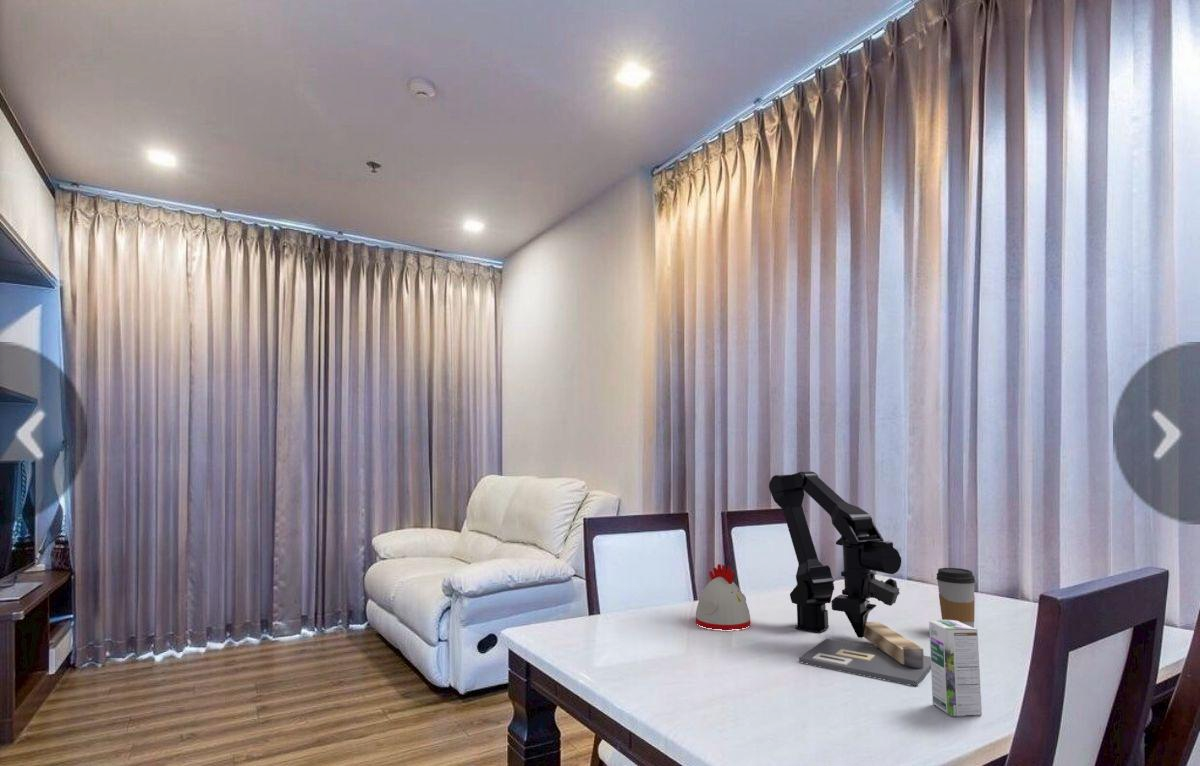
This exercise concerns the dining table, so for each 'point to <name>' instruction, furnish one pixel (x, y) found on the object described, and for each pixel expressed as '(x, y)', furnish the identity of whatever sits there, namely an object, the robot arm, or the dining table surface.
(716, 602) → the kitchen timer
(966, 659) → the syrup box
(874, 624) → the swing arm
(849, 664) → the label panel
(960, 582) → the coffee cup
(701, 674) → the dining table surface
